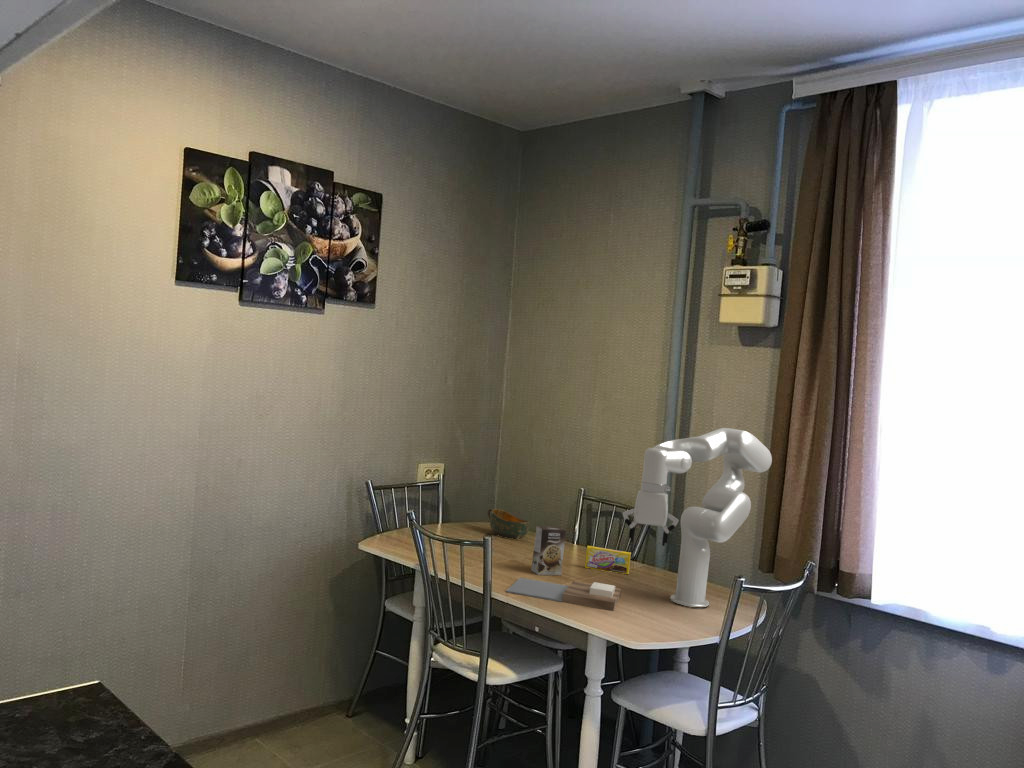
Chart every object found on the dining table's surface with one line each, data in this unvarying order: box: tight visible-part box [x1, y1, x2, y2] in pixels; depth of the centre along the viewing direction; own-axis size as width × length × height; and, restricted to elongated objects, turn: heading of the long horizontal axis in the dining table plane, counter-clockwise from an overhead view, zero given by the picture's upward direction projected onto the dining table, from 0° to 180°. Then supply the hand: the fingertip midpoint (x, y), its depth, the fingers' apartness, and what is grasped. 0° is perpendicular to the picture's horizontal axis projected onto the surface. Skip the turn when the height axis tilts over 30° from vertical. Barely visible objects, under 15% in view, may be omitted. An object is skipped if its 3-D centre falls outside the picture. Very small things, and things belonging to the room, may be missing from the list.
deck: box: [561, 580, 622, 611], centre depth 266 cm, size 18×16×2 cm
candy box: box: [584, 545, 632, 575], centre depth 307 cm, size 16×2×8 cm, turn 76°
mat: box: [505, 577, 570, 603], centre depth 270 cm, size 19×18×1 cm
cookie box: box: [530, 525, 567, 576], centre depth 294 cm, size 9×6×16 cm
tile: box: [589, 581, 616, 598], centre depth 265 cm, size 8×7×2 cm
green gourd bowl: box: [487, 507, 531, 540], centre depth 351 cm, size 13×20×10 cm, turn 24°
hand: (647, 542), depth 259 cm, fingers open, 9 cm apart
